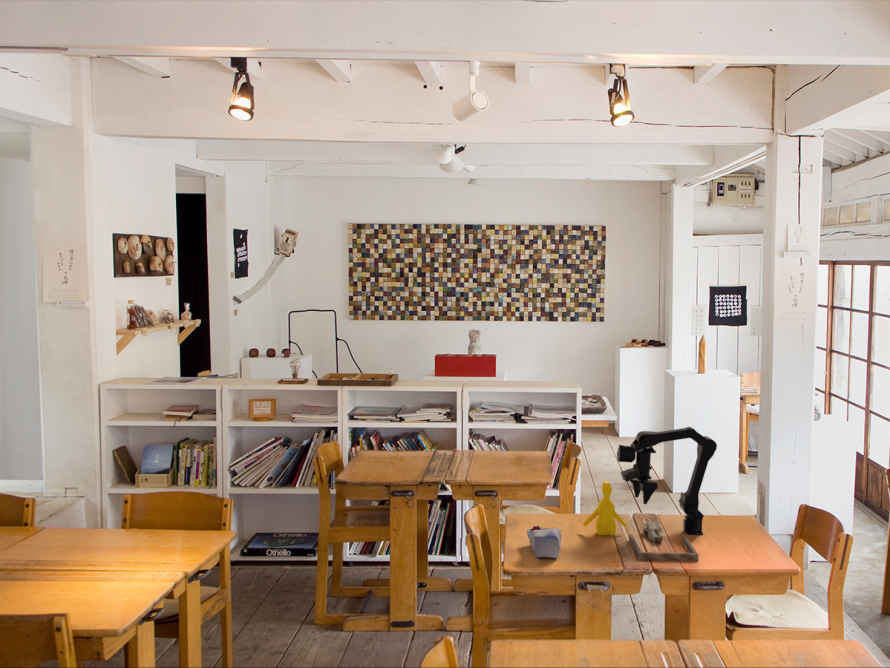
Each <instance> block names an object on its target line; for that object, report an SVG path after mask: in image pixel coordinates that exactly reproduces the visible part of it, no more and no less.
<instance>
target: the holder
mask: <svg viewBox="0 0 890 668" xmlns="http://www.w3.org/2000/svg"><path fill="white" fill-rule="evenodd" d="M680 537H681V538H680V539H681V540H680V541H681V544H683V546H684V548H685V547H686V548H685V549H686V551H687V552H658V551H657V552H656V551H655V552H652V551H651V552H650V551H642V550H641V548H640V546H639V544H638V543H637V541H636V539H635V537H634V535H633V533H632V534H631V533H630V534H629V535H628V541H629V543H630V545H631V547H632V549H633V551H634V553H635V556H636V557H637V560H638V561H675V562H677V561H680V562H681V561H682V562H699V553H698V551H696V549H695V548H694V546H693V545H692V543H691V542H690V541H689V539H688V538H687V537H686V535H684V534H683V535H682V534H681V536H680Z"/></svg>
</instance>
